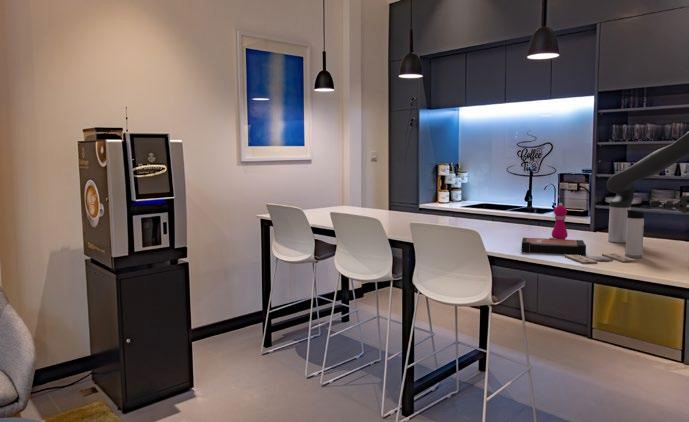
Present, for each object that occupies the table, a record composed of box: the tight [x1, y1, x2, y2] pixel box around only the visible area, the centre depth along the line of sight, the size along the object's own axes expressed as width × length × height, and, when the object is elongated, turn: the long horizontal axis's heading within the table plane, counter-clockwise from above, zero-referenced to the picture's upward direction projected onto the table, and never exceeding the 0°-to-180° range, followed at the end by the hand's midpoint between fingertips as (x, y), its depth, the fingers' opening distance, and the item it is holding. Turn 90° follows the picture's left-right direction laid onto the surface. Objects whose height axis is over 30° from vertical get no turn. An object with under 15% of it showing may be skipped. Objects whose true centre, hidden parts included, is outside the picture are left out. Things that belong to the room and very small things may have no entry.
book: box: [521, 237, 587, 257], centre depth 235 cm, size 26×18×5 cm
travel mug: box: [624, 209, 645, 259], centre depth 219 cm, size 6×7×20 cm
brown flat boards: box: [564, 253, 638, 265], centre depth 215 cm, size 23×14×1 cm, turn 96°
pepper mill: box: [551, 202, 568, 239], centre depth 252 cm, size 7×7×20 cm
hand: (656, 204), depth 218 cm, fingers open, 8 cm apart
